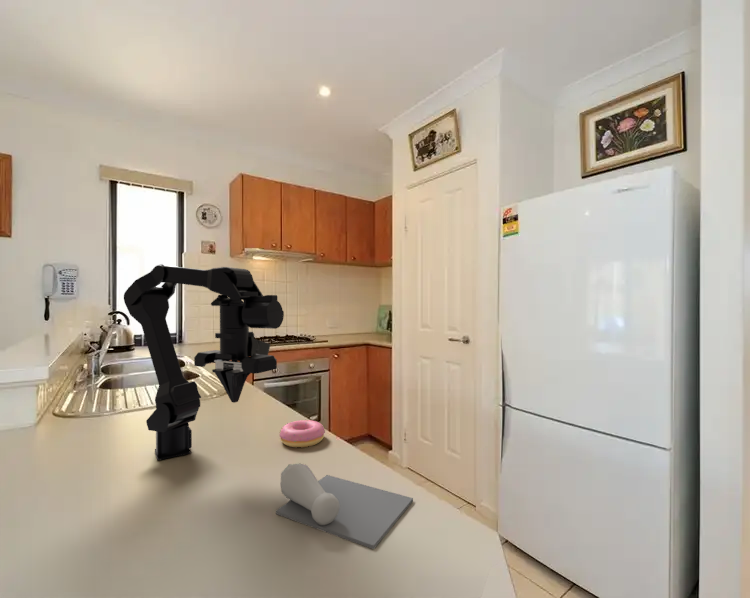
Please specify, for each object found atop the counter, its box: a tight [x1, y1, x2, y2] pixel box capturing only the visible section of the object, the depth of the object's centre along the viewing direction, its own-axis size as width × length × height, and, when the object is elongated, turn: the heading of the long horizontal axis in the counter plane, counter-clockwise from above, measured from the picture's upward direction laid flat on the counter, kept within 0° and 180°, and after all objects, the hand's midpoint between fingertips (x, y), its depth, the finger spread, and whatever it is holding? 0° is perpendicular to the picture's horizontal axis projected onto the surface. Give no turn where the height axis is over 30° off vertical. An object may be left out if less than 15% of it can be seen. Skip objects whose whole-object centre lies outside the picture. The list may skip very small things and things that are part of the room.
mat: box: [275, 474, 414, 550], centre depth 63 cm, size 18×14×1 cm
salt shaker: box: [280, 462, 340, 525], centre depth 61 cm, size 6×6×13 cm
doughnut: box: [279, 419, 326, 448], centre depth 92 cm, size 11×11×4 cm
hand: (234, 402), depth 79 cm, fingers closed
